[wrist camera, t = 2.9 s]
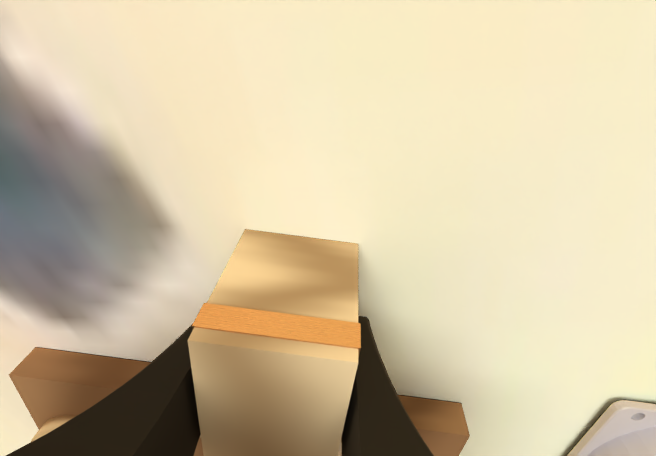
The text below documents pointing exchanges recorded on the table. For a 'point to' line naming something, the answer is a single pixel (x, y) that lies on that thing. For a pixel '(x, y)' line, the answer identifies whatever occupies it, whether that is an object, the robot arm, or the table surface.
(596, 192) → the table surface
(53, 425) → the spool
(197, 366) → the block
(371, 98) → the table surface
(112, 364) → the brown rectangular board
